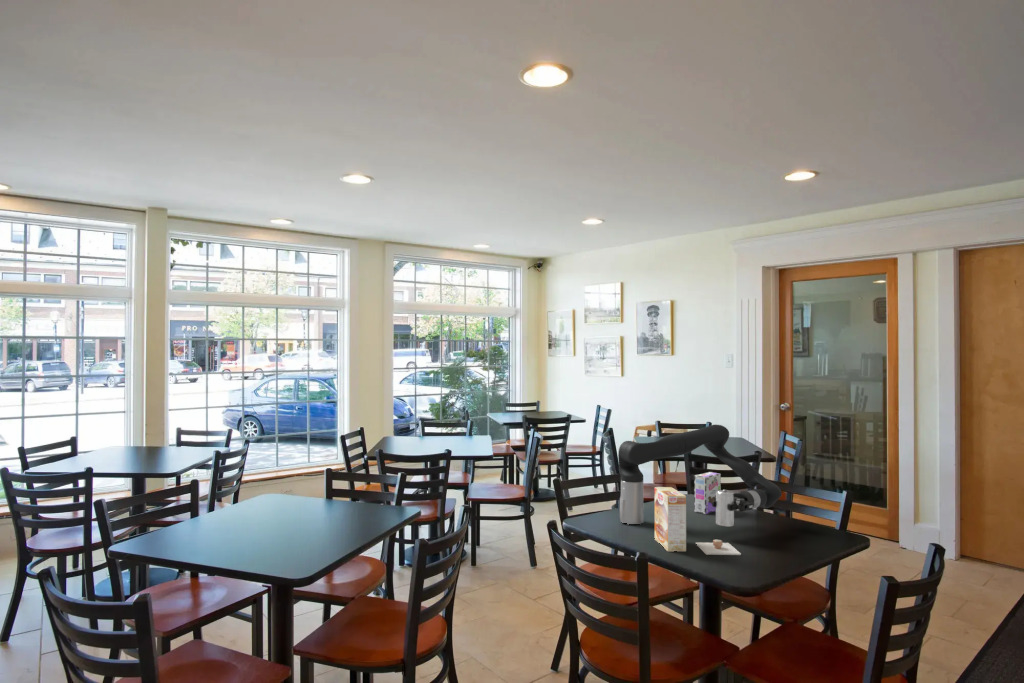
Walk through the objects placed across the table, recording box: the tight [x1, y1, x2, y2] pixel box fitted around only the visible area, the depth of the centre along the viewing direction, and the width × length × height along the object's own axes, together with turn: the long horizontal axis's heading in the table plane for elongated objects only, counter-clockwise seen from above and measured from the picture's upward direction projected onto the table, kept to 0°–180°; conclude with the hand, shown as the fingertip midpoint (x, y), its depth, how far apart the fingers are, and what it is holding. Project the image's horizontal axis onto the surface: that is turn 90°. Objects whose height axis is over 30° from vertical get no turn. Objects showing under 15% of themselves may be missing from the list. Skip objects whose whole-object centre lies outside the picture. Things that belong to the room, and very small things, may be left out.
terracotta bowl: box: [712, 538, 723, 549], centre depth 209 cm, size 3×3×3 cm
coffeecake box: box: [653, 486, 687, 553], centre depth 213 cm, size 15×7×20 cm, turn 4°
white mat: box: [695, 541, 742, 556], centre depth 209 cm, size 12×12×1 cm
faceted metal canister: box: [715, 488, 735, 527], centre depth 221 cm, size 6×6×13 cm
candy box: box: [693, 471, 722, 515], centre depth 264 cm, size 14×6×16 cm, turn 132°
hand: (721, 506), depth 220 cm, fingers closed on faceted metal canister, 6 cm apart
